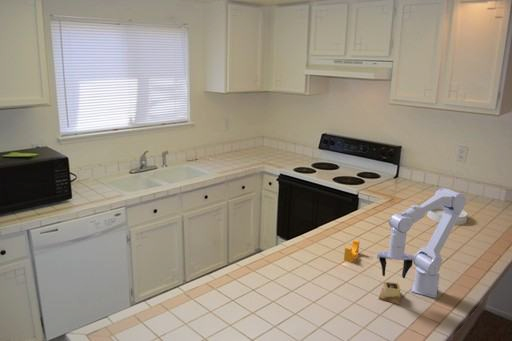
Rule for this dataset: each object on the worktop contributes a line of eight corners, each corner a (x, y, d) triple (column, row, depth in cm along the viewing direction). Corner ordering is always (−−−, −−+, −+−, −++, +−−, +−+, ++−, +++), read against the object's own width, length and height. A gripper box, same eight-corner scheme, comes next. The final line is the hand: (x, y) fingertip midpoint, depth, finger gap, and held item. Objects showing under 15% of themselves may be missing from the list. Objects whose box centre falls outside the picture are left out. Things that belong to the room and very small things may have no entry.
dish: (432, 209, 281) (433, 202, 280) (469, 217, 269) (470, 210, 267) (422, 219, 263) (424, 211, 262) (462, 228, 251) (463, 220, 250)
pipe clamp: (352, 262, 203) (353, 250, 202) (343, 260, 206) (345, 247, 204) (361, 253, 213) (363, 241, 211) (353, 251, 215) (354, 239, 214)
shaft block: (402, 295, 177) (403, 285, 175) (399, 304, 170) (400, 294, 168) (382, 289, 180) (383, 280, 179) (378, 299, 173) (379, 289, 172)
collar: (397, 291, 177) (398, 283, 176) (399, 299, 171) (400, 290, 170) (383, 290, 178) (384, 281, 177) (384, 297, 172) (385, 288, 171)
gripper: (414, 241, 172) (410, 272, 175) (376, 238, 174) (373, 269, 177) (418, 249, 165) (413, 281, 168) (379, 246, 167) (375, 277, 170)
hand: (393, 275), depth 172 cm, fingers open, 7 cm apart
